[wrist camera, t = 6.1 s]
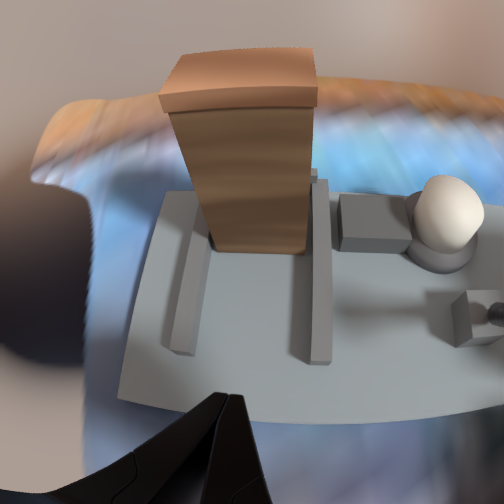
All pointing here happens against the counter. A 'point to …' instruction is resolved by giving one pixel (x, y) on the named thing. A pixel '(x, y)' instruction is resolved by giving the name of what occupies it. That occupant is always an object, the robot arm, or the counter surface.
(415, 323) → the control board
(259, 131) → the brown tall rectangular block
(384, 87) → the counter surface
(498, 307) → the dark gray metallic lever
